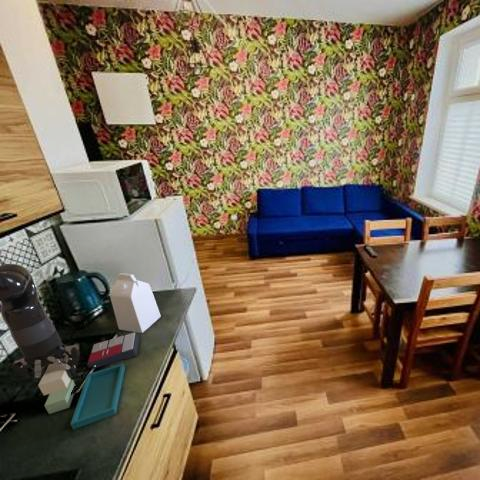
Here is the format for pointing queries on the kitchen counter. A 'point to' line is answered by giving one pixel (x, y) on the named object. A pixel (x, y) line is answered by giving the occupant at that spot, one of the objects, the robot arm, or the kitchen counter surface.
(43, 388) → the pad
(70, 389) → the pale green rectangular block
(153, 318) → the milk
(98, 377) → the tray
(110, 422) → the kitchen counter surface
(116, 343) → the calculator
